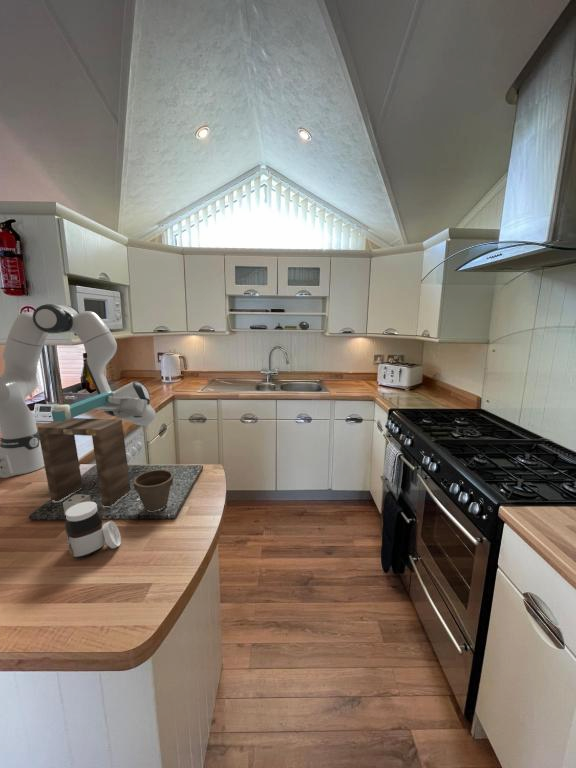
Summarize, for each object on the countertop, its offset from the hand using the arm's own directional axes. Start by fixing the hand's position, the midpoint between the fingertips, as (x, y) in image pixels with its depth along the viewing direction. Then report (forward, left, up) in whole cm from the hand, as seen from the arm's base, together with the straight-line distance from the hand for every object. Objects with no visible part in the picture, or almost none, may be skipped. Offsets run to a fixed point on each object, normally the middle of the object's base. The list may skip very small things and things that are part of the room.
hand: (101, 398), depth 116 cm
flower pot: (+25, -12, -32) cm, 42 cm away
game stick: (0, -7, -2) cm, 8 cm away
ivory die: (+3, -19, -32) cm, 37 cm away
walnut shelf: (0, -10, -32) cm, 33 cm away
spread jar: (+20, -32, -32) cm, 50 cm away
